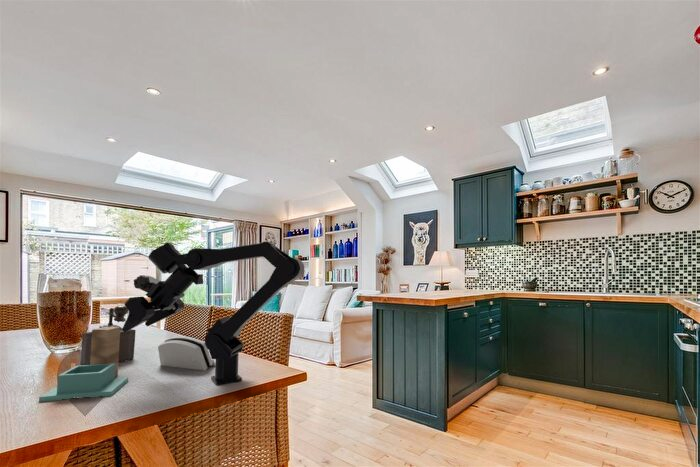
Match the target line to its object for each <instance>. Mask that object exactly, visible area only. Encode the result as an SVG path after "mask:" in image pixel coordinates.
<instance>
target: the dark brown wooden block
mask: <svg viewBox="0 0 700 467" xmlns="http://www.w3.org/2000/svg"><path fill="white" fill-rule="evenodd" d="M107 314H108V316H109V317H108V323H107V324H106V325H102V326H101V325H100V326H99V327H98V328H102V327H120V343H119V361H118V364H120V363H121V364H122V363H125V362H128V361H131V360H133V359H134V357H135V346H136V345H135V344H136V343H135V342H136V329H131V330H129V331H127V332H124V331H123V330H122V328H123V327H121V326H119V325H117V324H113V321H114V322H117V323H120V322H121V323H125V322H126V320H127V318H125V316H126V315H128V314H129V310H128V309H127V308H126V306H125V305H123V304H121V305H117V306H115V307H111V308H109V312H108V313H107ZM91 341H92V331H88V332H83V333H82V336H81V349H80V350H81V351H80V362H79V365H90V356H91Z"/></svg>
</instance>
